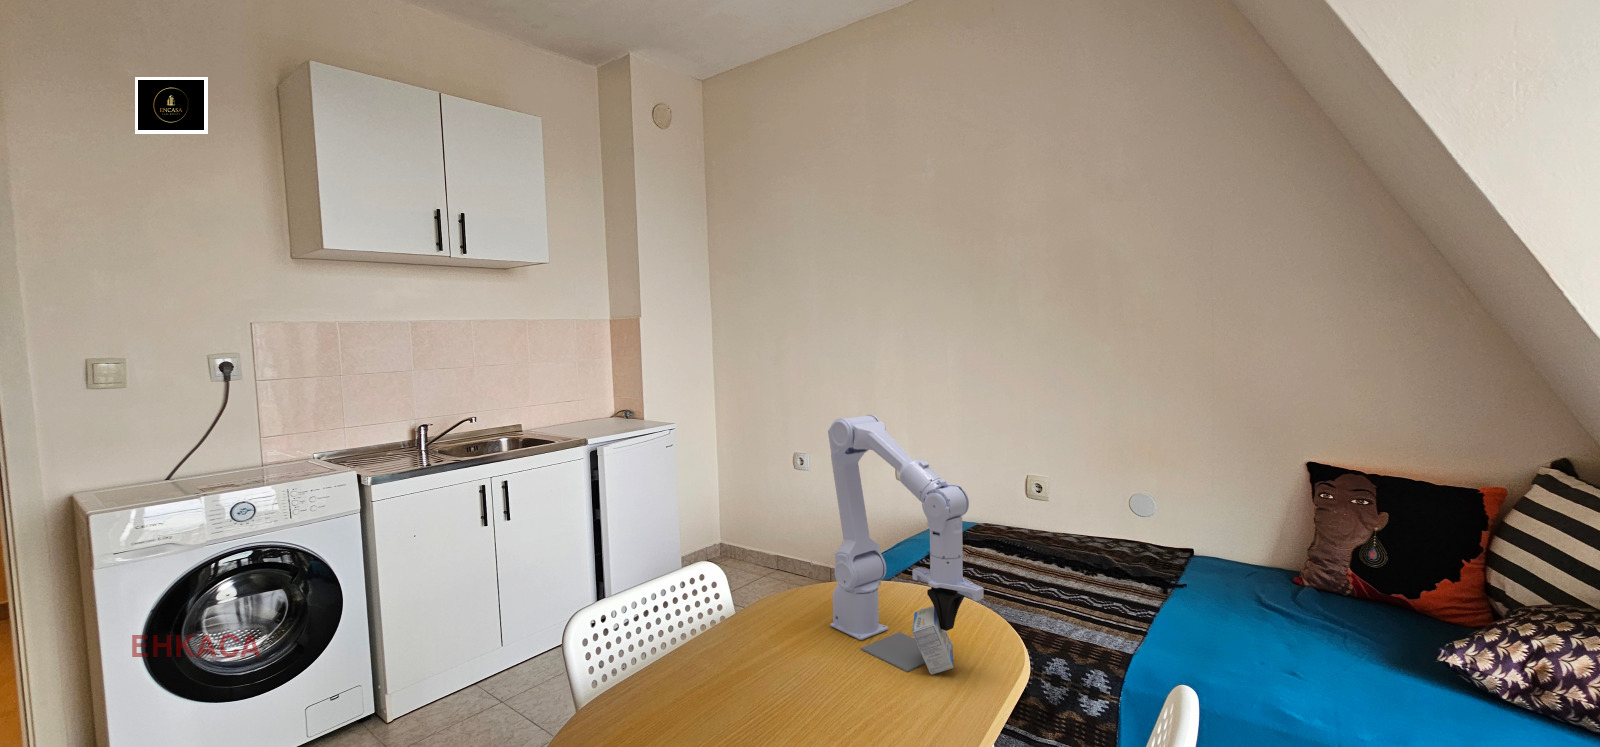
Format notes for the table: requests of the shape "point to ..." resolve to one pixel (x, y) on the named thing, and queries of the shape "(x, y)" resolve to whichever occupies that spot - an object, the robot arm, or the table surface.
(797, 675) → the table surface
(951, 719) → the table surface
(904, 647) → the gray mat
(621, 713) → the table surface
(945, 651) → the medicine box
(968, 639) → the table surface
